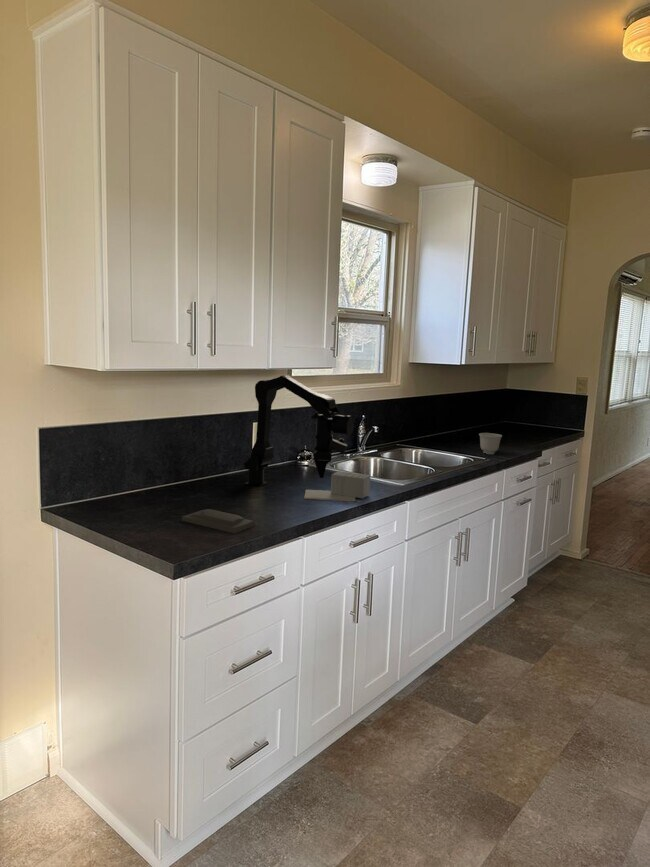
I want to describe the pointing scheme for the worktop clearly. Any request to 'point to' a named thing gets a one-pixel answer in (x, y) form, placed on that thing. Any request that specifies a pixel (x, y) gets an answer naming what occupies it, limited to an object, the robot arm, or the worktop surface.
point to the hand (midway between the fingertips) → (321, 475)
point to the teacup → (489, 442)
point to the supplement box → (350, 484)
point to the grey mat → (326, 496)
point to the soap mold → (219, 520)
